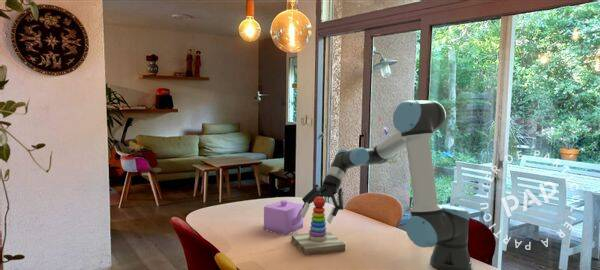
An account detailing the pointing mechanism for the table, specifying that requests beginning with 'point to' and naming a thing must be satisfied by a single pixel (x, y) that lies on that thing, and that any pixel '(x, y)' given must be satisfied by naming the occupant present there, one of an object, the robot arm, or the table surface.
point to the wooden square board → (318, 244)
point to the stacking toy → (318, 221)
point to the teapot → (283, 217)
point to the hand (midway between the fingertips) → (315, 219)
